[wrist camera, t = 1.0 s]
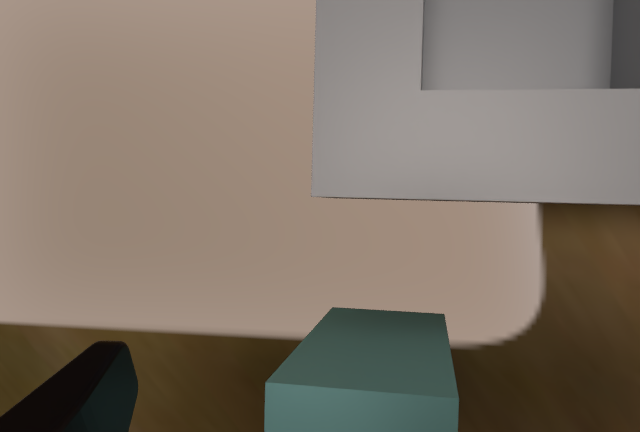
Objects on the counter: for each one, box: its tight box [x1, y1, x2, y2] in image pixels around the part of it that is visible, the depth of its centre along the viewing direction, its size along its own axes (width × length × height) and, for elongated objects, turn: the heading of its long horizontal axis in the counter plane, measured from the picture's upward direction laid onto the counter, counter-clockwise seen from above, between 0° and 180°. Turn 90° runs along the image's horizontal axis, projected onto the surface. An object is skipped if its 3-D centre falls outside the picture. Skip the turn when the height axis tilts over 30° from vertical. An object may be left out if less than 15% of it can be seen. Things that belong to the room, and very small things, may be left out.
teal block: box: [264, 307, 459, 432], centre depth 16 cm, size 4×4×9 cm
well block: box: [311, 0, 640, 206], centre depth 17 cm, size 12×12×4 cm
